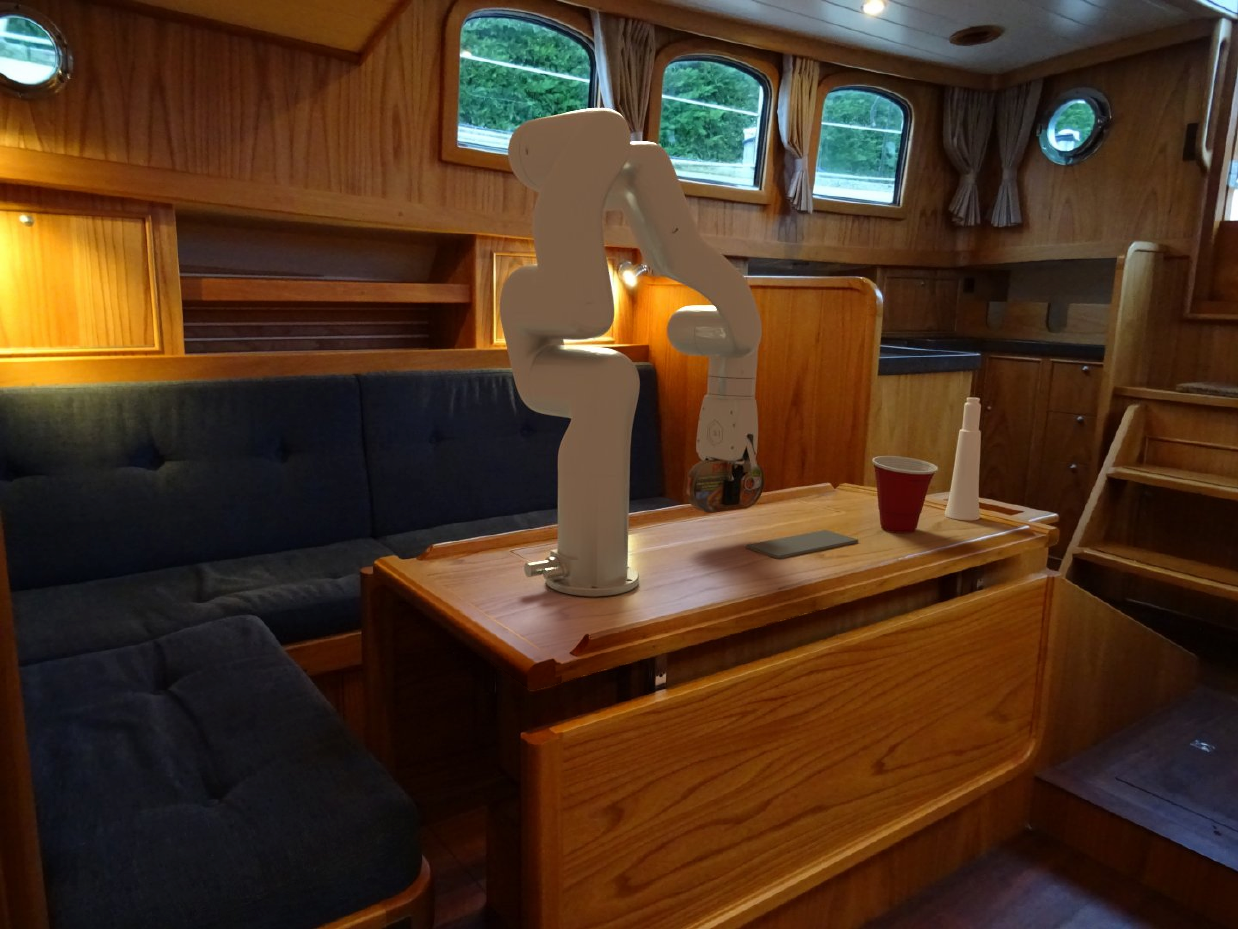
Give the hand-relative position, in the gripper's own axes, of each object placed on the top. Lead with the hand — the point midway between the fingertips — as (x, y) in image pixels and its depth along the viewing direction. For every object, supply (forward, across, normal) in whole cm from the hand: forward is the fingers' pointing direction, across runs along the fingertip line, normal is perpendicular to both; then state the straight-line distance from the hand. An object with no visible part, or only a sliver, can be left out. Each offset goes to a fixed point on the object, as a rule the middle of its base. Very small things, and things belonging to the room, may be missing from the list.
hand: (723, 501), depth 138 cm
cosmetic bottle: (+5, +11, +49) cm, 51 cm away
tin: (+1, 0, 0) cm, 2 cm away
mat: (+6, +9, +9) cm, 14 cm away
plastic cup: (+5, +11, +31) cm, 33 cm away
